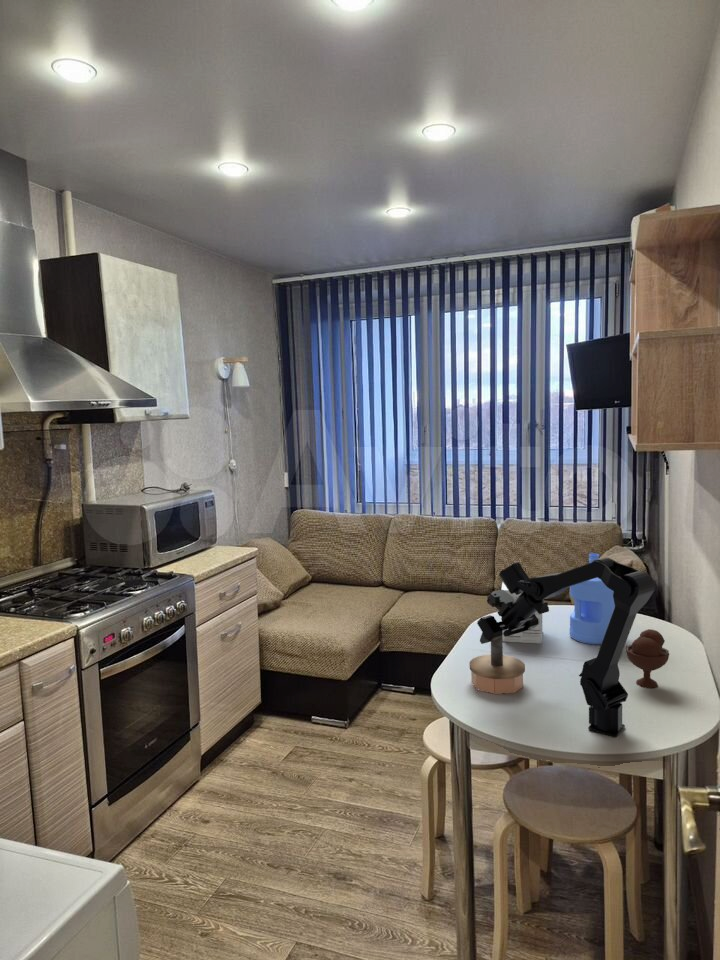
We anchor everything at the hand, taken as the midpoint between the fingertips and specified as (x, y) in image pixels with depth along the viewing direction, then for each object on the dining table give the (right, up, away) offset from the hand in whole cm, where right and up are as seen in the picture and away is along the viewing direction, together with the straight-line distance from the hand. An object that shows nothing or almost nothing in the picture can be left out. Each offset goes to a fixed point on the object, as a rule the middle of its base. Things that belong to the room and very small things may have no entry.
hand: (492, 638), depth 179 cm
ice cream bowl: (+41, -12, -3) cm, 43 cm away
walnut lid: (+1, -8, 0) cm, 8 cm away
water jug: (+41, -9, +36) cm, 55 cm away
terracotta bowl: (+1, -13, 0) cm, 13 cm away
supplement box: (+18, -9, +39) cm, 44 cm away
